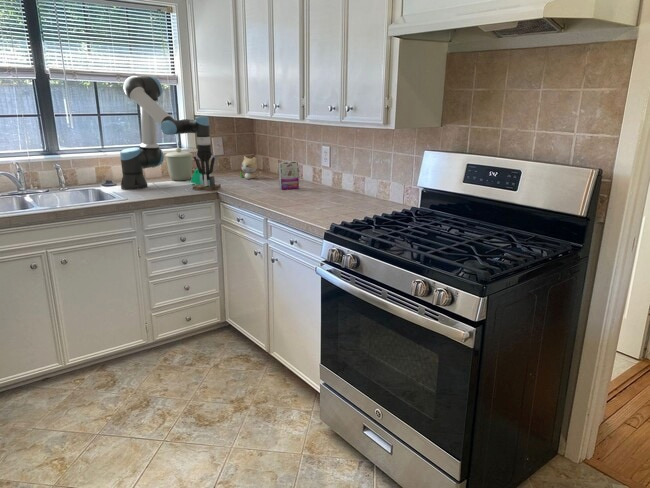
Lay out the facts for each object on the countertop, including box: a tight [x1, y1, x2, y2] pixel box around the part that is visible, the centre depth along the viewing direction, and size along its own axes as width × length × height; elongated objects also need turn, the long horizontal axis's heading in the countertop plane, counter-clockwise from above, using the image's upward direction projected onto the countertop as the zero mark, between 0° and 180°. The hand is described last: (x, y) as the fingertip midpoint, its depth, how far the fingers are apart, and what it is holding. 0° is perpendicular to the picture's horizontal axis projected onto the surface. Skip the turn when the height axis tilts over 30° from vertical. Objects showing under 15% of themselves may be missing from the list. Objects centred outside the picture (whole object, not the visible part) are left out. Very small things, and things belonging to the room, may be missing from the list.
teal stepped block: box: [200, 174, 216, 187], centre depth 287 cm, size 6×14×6 cm, turn 33°
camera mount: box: [190, 168, 202, 186], centre depth 306 cm, size 12×8×10 cm, turn 61°
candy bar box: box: [278, 160, 300, 191], centre depth 292 cm, size 11×5×16 cm, turn 112°
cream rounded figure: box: [239, 155, 262, 180], centre depth 325 cm, size 15×10×15 cm, turn 57°
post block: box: [192, 171, 222, 192], centre depth 291 cm, size 14×10×10 cm
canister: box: [164, 147, 194, 182], centre depth 319 cm, size 18×18×21 cm
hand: (206, 185), depth 282 cm, fingers closed
